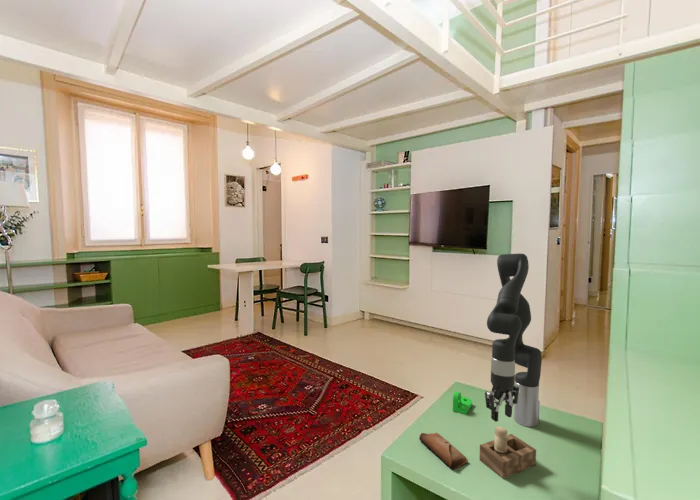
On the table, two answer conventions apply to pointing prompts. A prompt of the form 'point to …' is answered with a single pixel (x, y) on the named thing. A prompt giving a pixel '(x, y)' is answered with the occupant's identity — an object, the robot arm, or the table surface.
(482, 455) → the brown wooden box
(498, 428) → the peg
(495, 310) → the robot arm
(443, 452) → the sunglasses case
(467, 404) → the mechanical part
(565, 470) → the table surface
